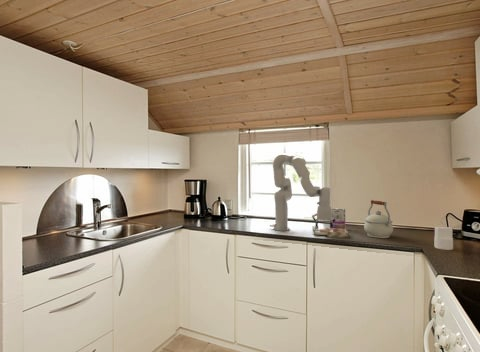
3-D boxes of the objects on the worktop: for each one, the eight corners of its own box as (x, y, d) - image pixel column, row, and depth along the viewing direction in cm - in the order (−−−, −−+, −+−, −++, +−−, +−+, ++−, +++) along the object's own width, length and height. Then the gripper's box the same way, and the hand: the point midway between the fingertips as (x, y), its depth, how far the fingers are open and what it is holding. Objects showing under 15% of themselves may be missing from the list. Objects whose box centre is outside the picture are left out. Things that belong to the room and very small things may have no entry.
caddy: (327, 236, 194) (327, 231, 194) (325, 232, 208) (325, 228, 208) (348, 237, 192) (348, 232, 192) (345, 233, 205) (345, 228, 205)
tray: (313, 234, 197) (313, 229, 197) (312, 230, 210) (312, 226, 210) (334, 235, 194) (334, 230, 194) (332, 231, 207) (332, 226, 207)
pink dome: (320, 233, 199) (320, 230, 199) (319, 231, 206) (319, 228, 206) (330, 233, 197) (330, 230, 197) (329, 231, 204) (329, 229, 204)
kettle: (401, 239, 188) (401, 202, 188) (376, 240, 185) (376, 202, 185) (377, 231, 213) (377, 198, 213) (355, 232, 210) (355, 199, 210)
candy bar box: (345, 229, 223) (345, 208, 223) (344, 230, 219) (344, 209, 219) (331, 227, 228) (331, 207, 228) (329, 228, 224) (330, 208, 224)
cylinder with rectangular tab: (445, 245, 170) (445, 226, 170) (457, 249, 161) (457, 229, 161) (430, 245, 170) (430, 226, 170) (441, 249, 161) (441, 229, 161)
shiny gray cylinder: (312, 231, 214) (312, 226, 214) (312, 230, 218) (312, 225, 218) (318, 231, 213) (318, 226, 213) (318, 230, 217) (318, 225, 217)
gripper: (312, 204, 200) (311, 228, 200) (337, 205, 196) (337, 229, 196) (311, 203, 207) (311, 226, 207) (336, 204, 204) (335, 227, 204)
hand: (323, 227), depth 202 cm, fingers open, 9 cm apart
